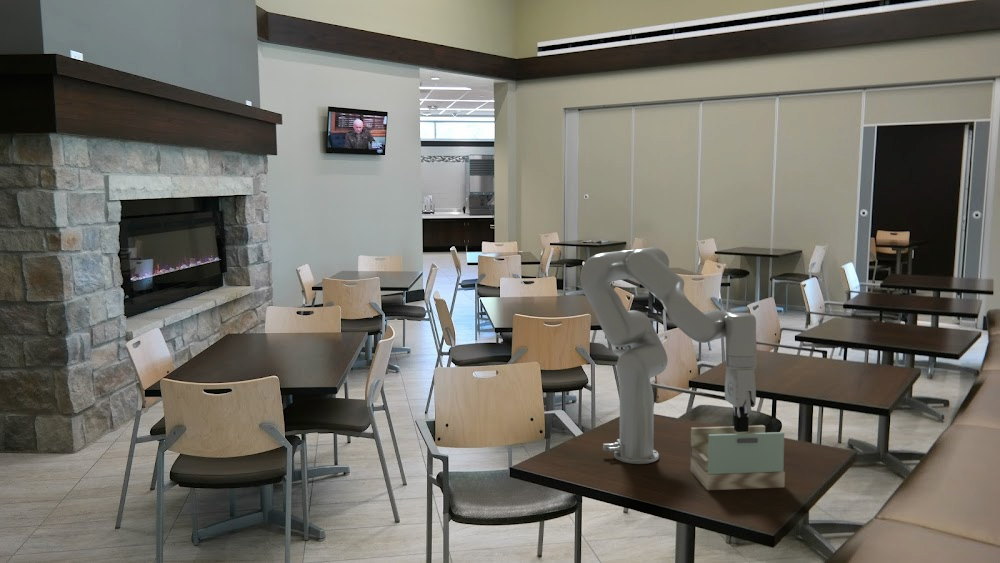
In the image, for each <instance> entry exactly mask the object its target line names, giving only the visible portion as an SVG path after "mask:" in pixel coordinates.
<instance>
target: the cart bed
mask: <svg viewBox="0 0 1000 563" xmlns="http://www.w3.org/2000/svg"><path fill="white" fill-rule="evenodd" d="M738 433H766V426H765V425H763V424H759V425H748V432H736V431H735V430H734V425H733V426H732V425H731V426H730V425H729V426H727V425H726V426H697V427H690V466H689V467H690V472H691V473H692V474H693V476H694V477H696V479H697V480H698V481H699V483H701V485H702V486H703V487H704V489H705V490H706V491H719V490H721V491H722V490H724V491H725V490H746V489H747V490H748V489H749V490H750V489H752V490H753V489H775V488H777V489H778V488H785V486H786V485H785V480H786V472H785V471H784V470H783V471H782V472H754V473H727V474H709V473H708V435H709V434H738Z"/></svg>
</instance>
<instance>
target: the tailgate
mask: <svg viewBox="0 0 1000 563" xmlns="http://www.w3.org/2000/svg"><path fill="white" fill-rule="evenodd" d="M784 459H785V433H784V431H778V432H777V431H774V432H773V431H771V432H765V433H738V434H709V435H708V473H709V474H727V473H754V472H782V471H784V466H785V464H784V462H785V461H784Z"/></svg>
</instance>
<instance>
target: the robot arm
mask: <svg viewBox="0 0 1000 563" xmlns="http://www.w3.org/2000/svg"><path fill="white" fill-rule="evenodd" d="M579 275H580V276H579V279H580V280H579V282H580V287H581V289H582V292H583V295H584V296H585V298H586V299H587V301H588V303H589V305H590V306H591V309H592V311H593V313H594V315H595V317H596V319H597V321H598V323H599V326H600V327H601V330H602V332H603V333H604V336H605V338H606V340H607V341H608V342H609V344H610V345H612V346H613V347H617V348H623V347H627V346H630V347H631V348H629V349H627V350H625V351H624V352H623V353H621V354H620V356H619V357H618V359H617V362H616V375H617V380H618V387H619V389H618V390H619V438H617V439H616V441H615V442H613V443H610V442H609V443H608V442H607V443H602V450H603V451H608V452H609V453H613V457H614V458H615V459H616V460H618V461H620V462H623V463H627V464H633V465H645V464H650V463H651V464H653V463H654V462H656V461H658V460H659V458H660V454H659V452H658V451H657V450H656V449H654V422H655V421H654V409H655V408H654V407H655V406H654V404H655V402H654V398H655V397H654V391H653V387H652V383H651V378H653V377H656V376H659V375H660V374H662V373H663V372H664V371H665V370H666V369H667V367H668V363H669V362H668V354H667V351H666V349H665V347H664V345H663V343H662V341H661V339H660V337H659V335H658V333H657V331H656V329H655V328H654V326H653V323H652V322H651V320H650V319H649V317H648V316H647V315H646V314H644V313H643V312H642V311H640V310H635V309H633V310H627V308H626V307H625V305H624V303H623V301H622V299H621V297H620V295H619V294H618V293H617V291H616V290H615V289H614V288H613V287H612V286H611V285H610V283H611V282H615V281H622V280H629V279H630V280H632V279H634V280H635V281H636V282H637V283H639V284H640V285H641V286H642V287H643V288H645V289H646V290H647V291H648V292H649V293H651V294H652V295H653V296H654V297H655V298H656V299H657V300H658V301H659V302H660V303H661V304H662V306H663V308H664V309H663V310H664V312H666V314H667V316H668V317H669V320H670V321H671V322H672V323H673V324H674V326H676V328H678V329H679V330H680V331H682V333H684V334H685V335H686V336H687V337H688V338H690V339H691V340H693V341H695V342H697V343H700V344H701V343H702V344H706V343H707V344H708V343H709V342H713V341H715V340H719V339H720V340H721V339H722V338H724V339H725V340H724V341H725V342H724V344H725V367H726V369H725V379H724V380H725V381H724V399H725V401H726V402H728V403H729V404H731V405H732V409H733V410H732V411H733V426H734V430H735V431H736V432H748V426H749V417H750V414H752V408H754V407H755V406H756V401H757V395H756V394H757V390H756V376H755V369H756V368H757V318H756V316H755V315H754V314H752V313H747V312H730V311H725V310H722V309H713V310H710V311H709V310H708V311H705V312H702V311H701V310H700V309H699V308H697V307H696V306H695V305H694V304H693V303H692V302H691V301H690V300H689V299H688V297H687V296H686V294H685V291H684V287H685V280H684V279H683V278H682V277H681V276H680V275H679V274H678V273H677V272H675V271H673V269H671V268H670V260H669V256H668V255H667V253H666V252H665V251H664V250H663V249H661V248H659V247H645V248H640V249H628V250H618V251H610V252H601V253H596V254H594V255H592V256H590V257H589V258H587V259H586V260H585V262H584V263H583V264H582V268H581V271H580V274H579Z"/></svg>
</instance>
